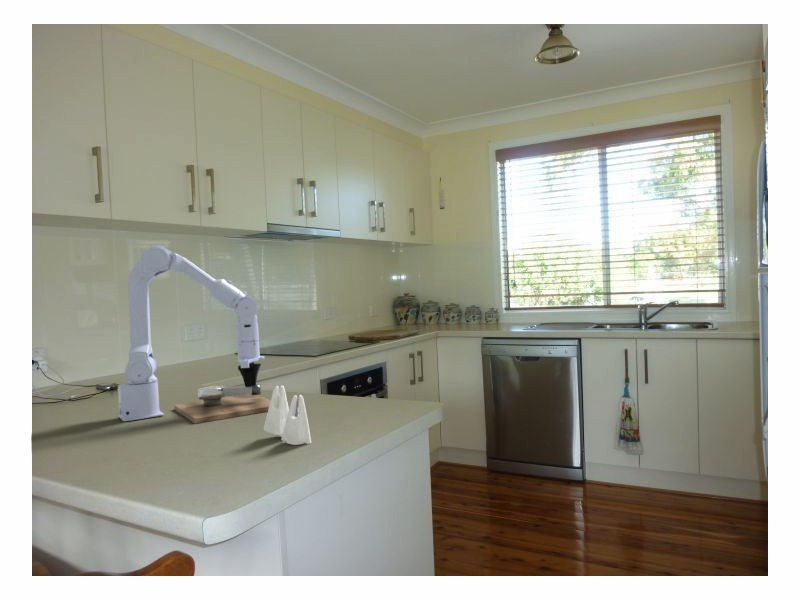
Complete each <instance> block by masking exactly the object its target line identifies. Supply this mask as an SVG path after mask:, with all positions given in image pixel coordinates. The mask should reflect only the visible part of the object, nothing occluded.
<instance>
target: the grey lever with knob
mask: <svg viewBox="0 0 800 600" xmlns="http://www.w3.org/2000/svg"><path fill="white" fill-rule="evenodd" d="M261 389H262V388H261V384H256V385H251V386H245V385H243V386H241V385H240V386H227V387H226V386H225V385H209V386H204V387H200V388H197V398H198V400H201V401H204V400H210V399H218V398H226V397H232V396H239V395H259V396H261V394H262V391H261Z"/></svg>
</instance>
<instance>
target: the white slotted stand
mask: <svg viewBox="0 0 800 600" xmlns="http://www.w3.org/2000/svg"><path fill="white" fill-rule="evenodd" d="M286 393H287V392H286V389H285V387H284V385H280V387H279V386H278V385H276V386H274V389H273V391H272V394H271V398H270V400H271V402H270V405H269V409H268V412H267V413H266V417H265V421H264V425H263V431H265V432H266V433H269V434H271V435H275V436H277V437H280V438H281V439H280V440H281V441H285V442H286V443H287V444H288V445H292V446H298V445H303V444H307V445H309V444H312V437H311V432H310V431H311V430H310V426H309V425H310V424H309V421H308V415H307V414H308V413H307V408H306V404H305V399H304V395H302V394H299V396H297V395H295V394H294V395H293V397H292V400H291V402H290V406H289V403H288V399H287V394H286Z"/></svg>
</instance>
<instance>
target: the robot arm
mask: <svg viewBox="0 0 800 600" xmlns="http://www.w3.org/2000/svg"><path fill="white" fill-rule="evenodd" d="M169 270H170V271H172V272H175V273H176V272H178V273H183V274H184V275H186V276H187V277H189V278H191V279H193V280H194V281H196V282H197V283H198V284H200V285H202V286H203V287H204V288H206V289H208V292H209V296H210V298H212V299H214V300H215V301H217V302H218V303H220V304H221V305H222V306H224V307H226V308H227V309H228V310H234V312H235V313H236V315H237V316H236V320H237V321H236V322H237V323H236V327H235V328H236V344H237V362H239V364H240V365H237V369H238V371H239V373H240V374H241V377H242V379H243V382H244V386H251V385H257V380H258V374H259V371H260V368H261V366H262V364H261V363H260V362H259V363H255V362H258V361H261V360H265V355H261V352H260V336H259V335H260V334H259V323H258V321H259V320H258V319H259V318H258V316H257V314H258V311H259V307H258V304H257V301H256V300H254V299H253V298H252V297H251V296H247V294H248V293H247V292H246V291H242V290H241V289H239V288H237V287H236V286H234V285H233V284H232V283H233V281H231V280H230V279H227V280H226V279H224V278H221V279H215V278H214V277H212V276H211V275H210V274H208V273H206V272H205V271H204V270H203V269H201V268H200V267H198V266H197V265H196V264H194V263H193V262H192V261H191V260H188V258H186V257H183V255H180V254H178V253H175V252H173V251H170V250H169V249H167V248H166V247H164V246H163V245H159V244H158V245H153V246H150V247H148V248H146V249H145V250H144V251H143V252H141V253H140V255H139V257H138V259H137V261H136V262H135V264H134V265H133V267H132V268H131V270H130V272H129V273H128V275H127V291H128V313H129V314H128V316H129V338H130V347H129V351H128V352H129V353H128V362H127V363H126V365H125V369H124V370H125V376H126V377H127V378H128V380H126V383H125V384H124V383H123V384H119V385H117V398H118V401H117V402H118V408H117V409H118V417H119V418H120V420H121V421H122V422H129V421H135V420H136V421H137V420H142V419H149V418H155V417H162V416H164V415H165V413H164V412H162V411H161V410H160V396H159V380H158V377H157V376H155V373H156V372H157V370H158V369H157V368H158V363H157V360H156V358H155V357H154V353H153V347H152V345H153V344H152V335H151V315H150V314H151V312H150V311H151V310H150V288H149V286H150V283H151V282H152V281H153V280H154V279H156V277H158V276H159V275H161V274H163V273H166V272H168V271H169Z"/></svg>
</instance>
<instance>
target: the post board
mask: <svg viewBox="0 0 800 600" xmlns="http://www.w3.org/2000/svg"><path fill="white" fill-rule="evenodd" d="M270 402H271V399H269V398H266V397H264V396H261V395H236V396H225V397H222V398H218V399H210V400H201V401H193V402H186V403H179V404H178V403H177V404H174V405H173V407H174V408H173V409H174V411H176V412H178V413H179V414H180V415H182V416H184V417H185V418H186V419H187V420H189V421H191V423H193V424H196V425H197V424H202V423H207V422H208V423H209V422H213V421H220V420H226V419H232V418H236V417H237V418H238V417H242V416H243V415H244V416H248V415H249V414H250V415H255V413H256V414H261V412H262V413H266V411H268V409H269V405H270ZM244 416H243V417H244Z"/></svg>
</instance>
